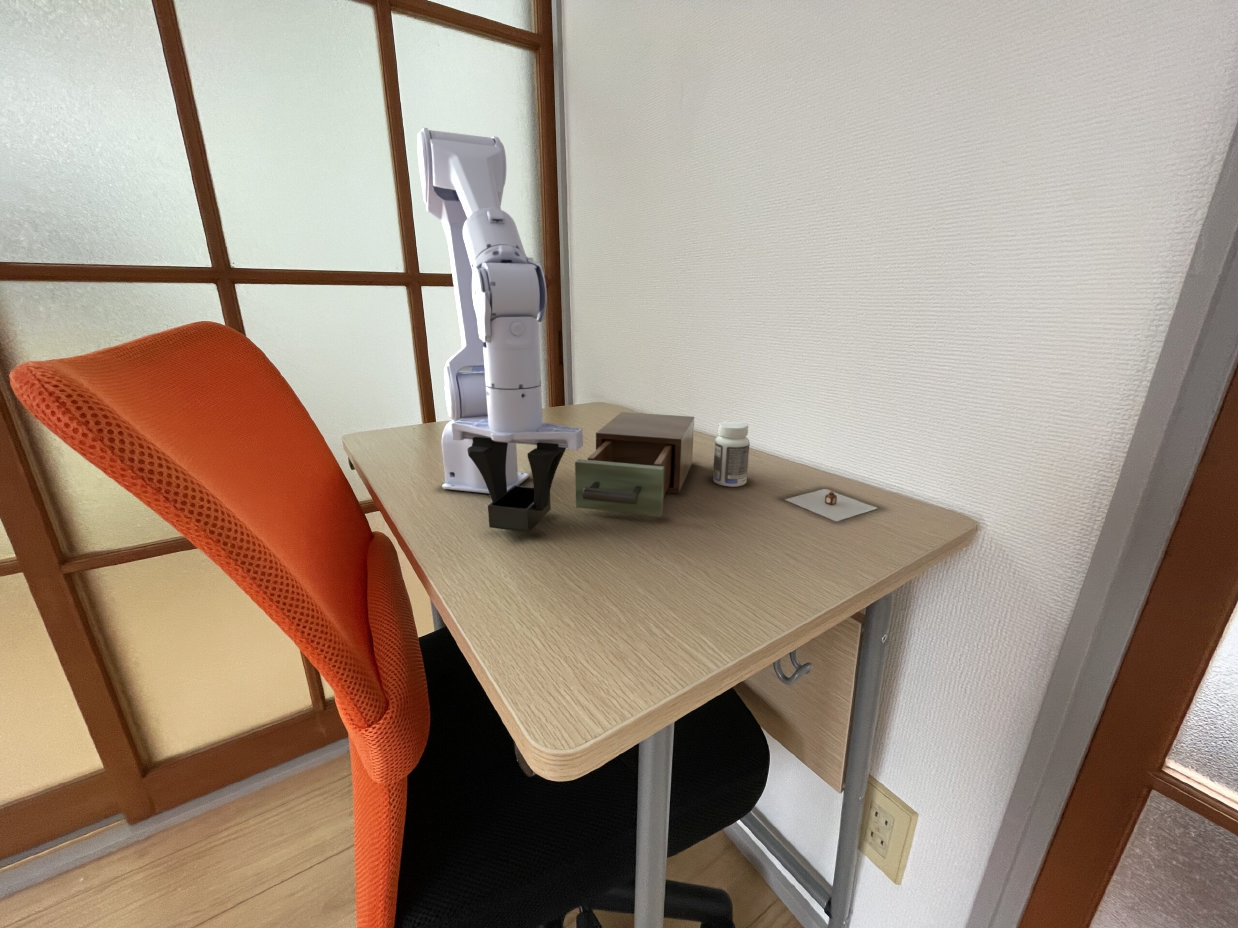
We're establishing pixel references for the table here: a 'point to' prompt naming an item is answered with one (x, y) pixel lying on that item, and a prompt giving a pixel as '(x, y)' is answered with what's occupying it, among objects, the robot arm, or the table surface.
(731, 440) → the pill bottle
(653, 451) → the drawer
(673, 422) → the cabinet
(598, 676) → the table surface
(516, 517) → the tray
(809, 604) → the table surface
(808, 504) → the grey square plate
